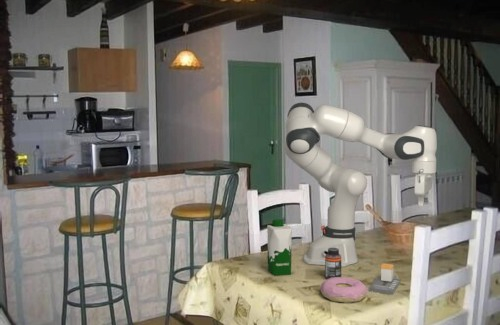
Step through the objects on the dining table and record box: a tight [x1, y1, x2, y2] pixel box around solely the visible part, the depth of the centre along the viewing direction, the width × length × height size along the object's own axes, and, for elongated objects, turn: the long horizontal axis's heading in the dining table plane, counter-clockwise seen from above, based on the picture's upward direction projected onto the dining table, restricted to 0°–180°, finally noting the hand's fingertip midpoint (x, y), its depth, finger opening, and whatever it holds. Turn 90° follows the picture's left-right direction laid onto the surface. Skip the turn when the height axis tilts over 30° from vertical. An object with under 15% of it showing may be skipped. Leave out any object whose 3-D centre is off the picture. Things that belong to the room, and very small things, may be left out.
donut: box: [320, 276, 368, 304], centre depth 170 cm, size 16×15×5 cm
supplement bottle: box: [324, 248, 342, 280], centre depth 188 cm, size 6×6×11 cm
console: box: [368, 274, 401, 295], centre depth 179 cm, size 14×8×2 cm, turn 153°
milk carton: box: [266, 218, 293, 277], centre depth 195 cm, size 9×9×20 cm
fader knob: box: [380, 262, 395, 282], centre depth 182 cm, size 4×4×5 cm
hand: (423, 203), depth 195 cm, fingers open, 8 cm apart
